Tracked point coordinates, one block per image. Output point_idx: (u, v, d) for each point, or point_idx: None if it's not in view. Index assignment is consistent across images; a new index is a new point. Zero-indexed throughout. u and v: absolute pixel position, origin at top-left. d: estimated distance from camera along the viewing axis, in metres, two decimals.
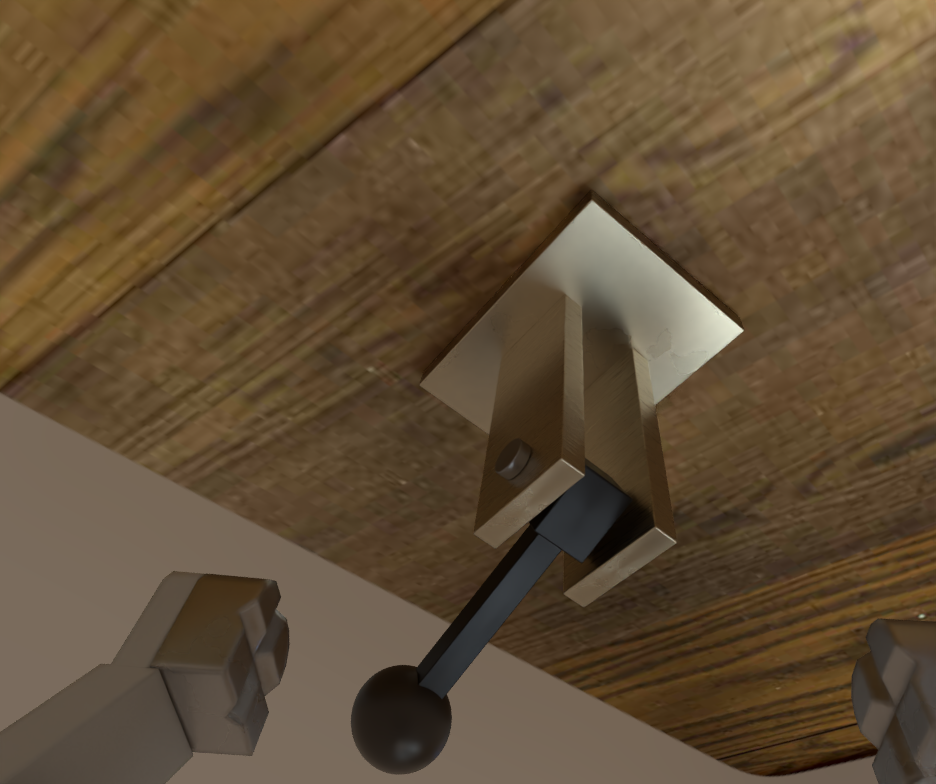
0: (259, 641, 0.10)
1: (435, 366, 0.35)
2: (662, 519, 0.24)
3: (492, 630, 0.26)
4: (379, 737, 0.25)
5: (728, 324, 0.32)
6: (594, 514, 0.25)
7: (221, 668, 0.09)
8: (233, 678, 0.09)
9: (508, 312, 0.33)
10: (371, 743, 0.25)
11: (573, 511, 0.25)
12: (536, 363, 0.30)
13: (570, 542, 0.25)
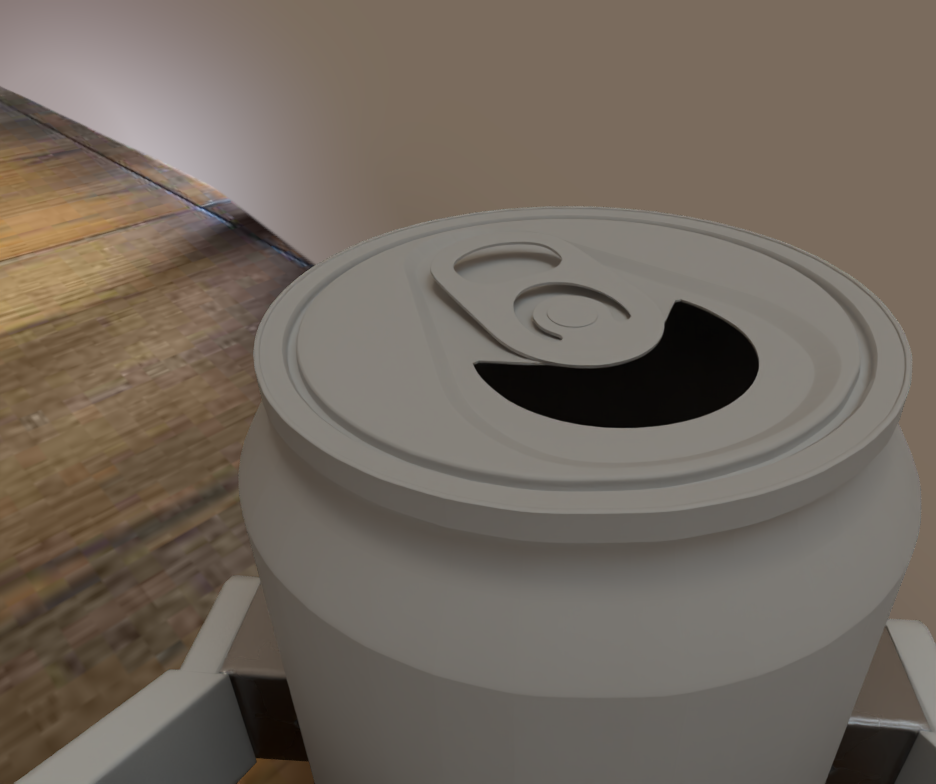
0: None
1: None
2: None
3: None
4: None
5: None
6: None
7: None
8: None
9: None
10: None
11: None
12: None
13: None
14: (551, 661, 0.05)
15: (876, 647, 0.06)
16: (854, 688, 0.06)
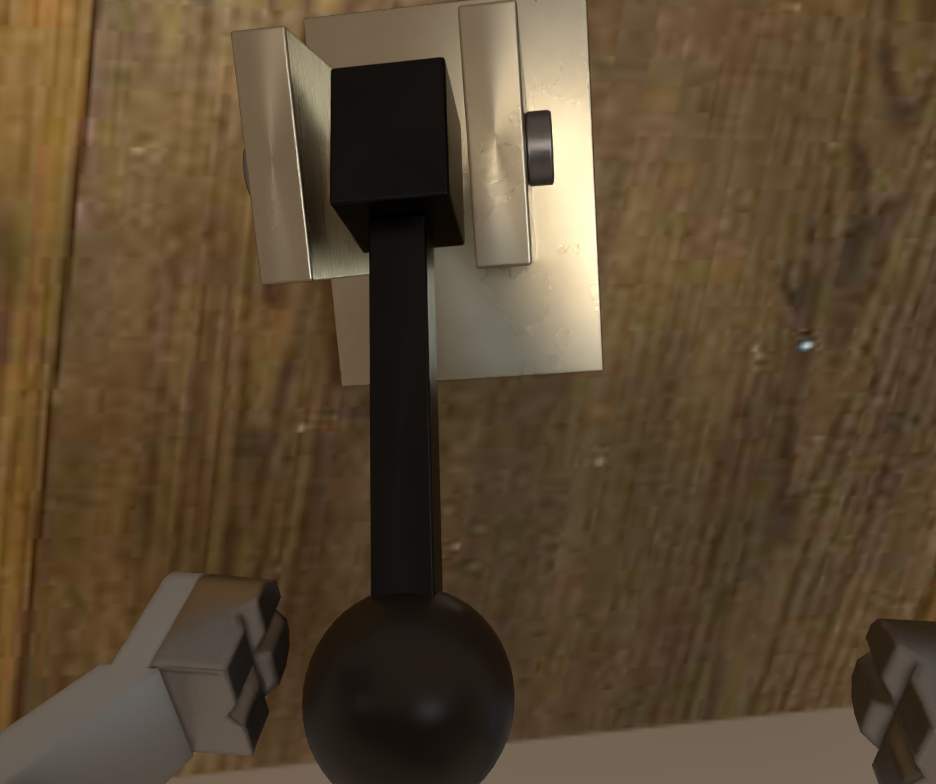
0: (259, 641, 0.10)
1: (338, 348, 0.26)
2: None
3: (420, 416, 0.13)
4: (328, 724, 0.11)
5: None
6: (402, 116, 0.14)
7: (221, 668, 0.09)
8: (233, 678, 0.09)
9: None
10: (328, 750, 0.11)
11: (366, 135, 0.14)
12: None
13: (400, 178, 0.14)
14: None
15: None
16: None
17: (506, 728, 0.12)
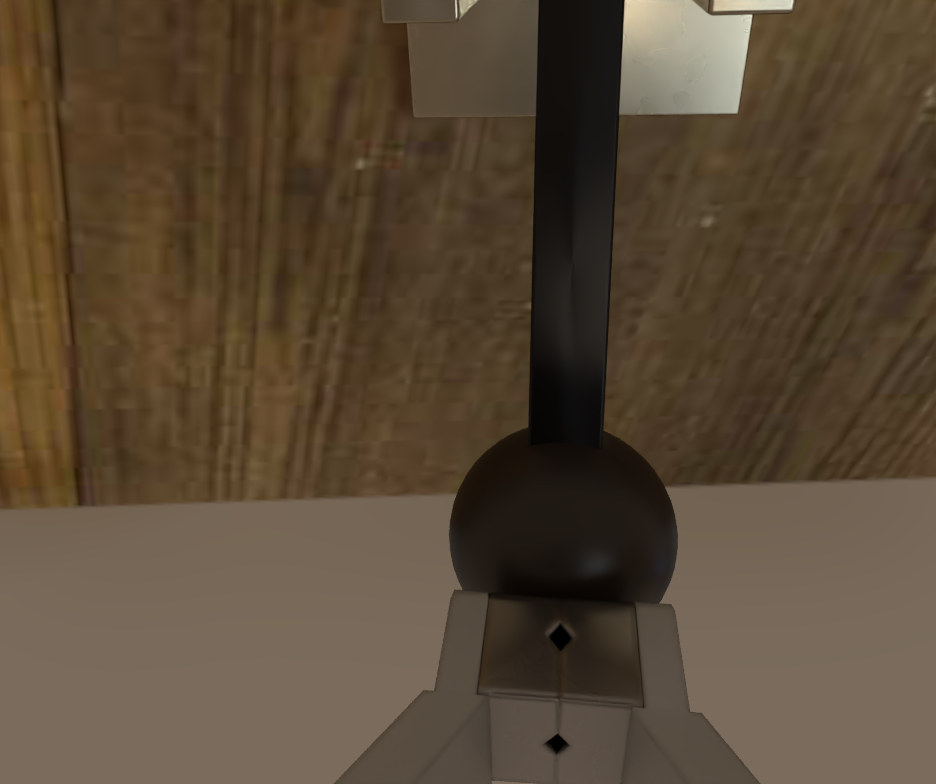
0: None
1: (410, 67, 0.21)
2: None
3: (600, 235, 0.10)
4: (493, 585, 0.11)
5: None
6: None
7: (555, 695, 0.09)
8: None
9: None
10: None
11: None
12: None
13: None
14: None
15: None
16: None
17: (670, 580, 0.12)
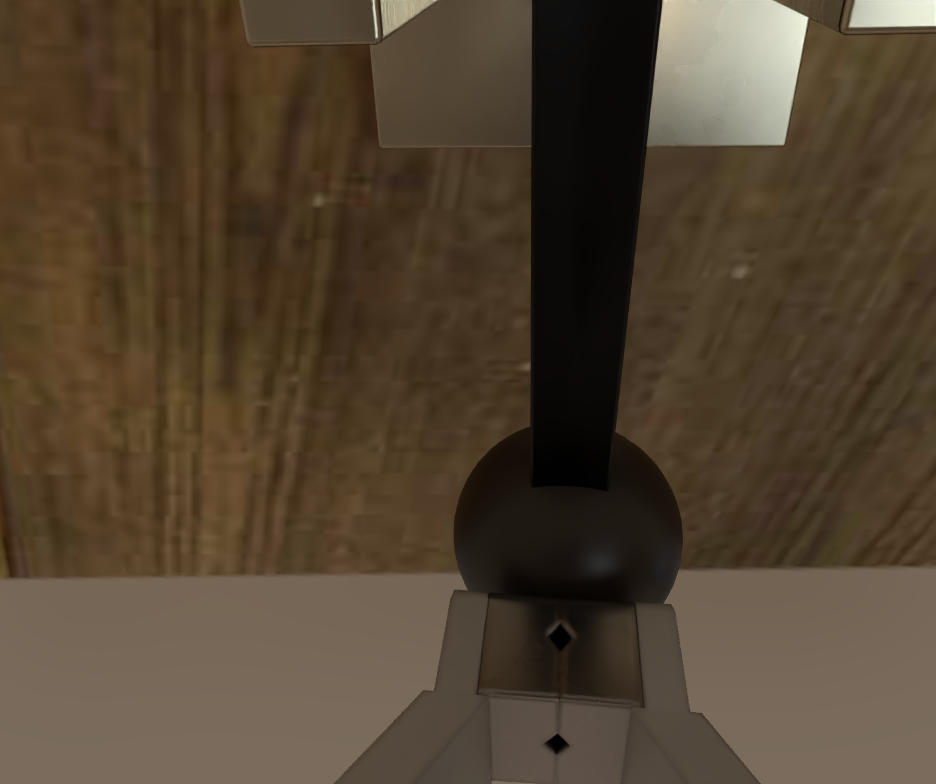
0: None
1: (373, 85, 0.17)
2: None
3: (613, 311, 0.08)
4: None
5: None
6: None
7: (555, 695, 0.09)
8: None
9: None
10: None
11: None
12: None
13: None
14: None
15: None
16: None
17: None
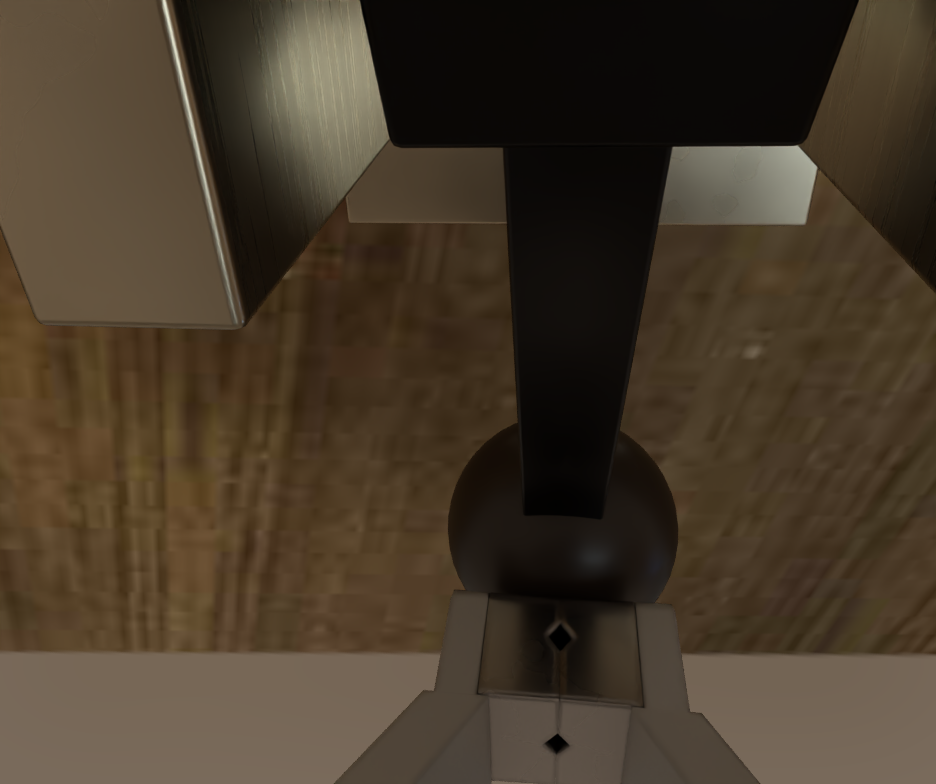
0: None
1: None
2: None
3: (608, 405, 0.08)
4: None
5: None
6: None
7: (555, 695, 0.09)
8: None
9: None
10: None
11: None
12: None
13: (645, 88, 0.04)
14: None
15: None
16: None
17: None
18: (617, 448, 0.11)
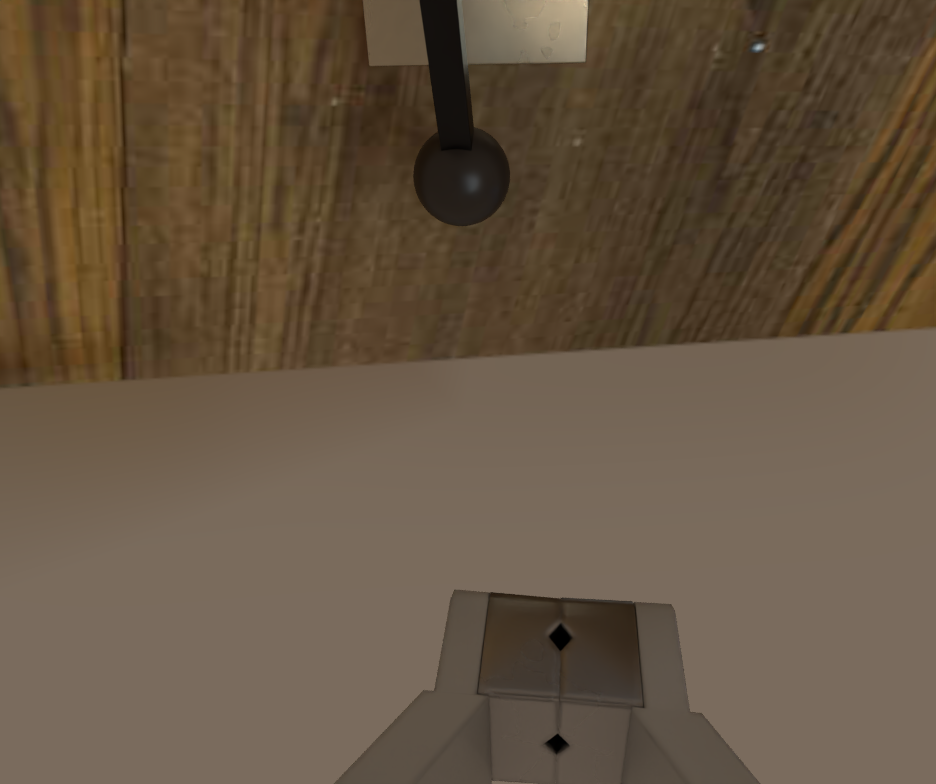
0: None
1: (365, 30, 0.31)
2: None
3: (458, 73, 0.24)
4: (432, 208, 0.27)
5: None
6: None
7: (555, 695, 0.09)
8: None
9: None
10: (432, 214, 0.28)
11: None
12: None
13: None
14: None
15: None
16: None
17: None
18: (481, 131, 0.27)
